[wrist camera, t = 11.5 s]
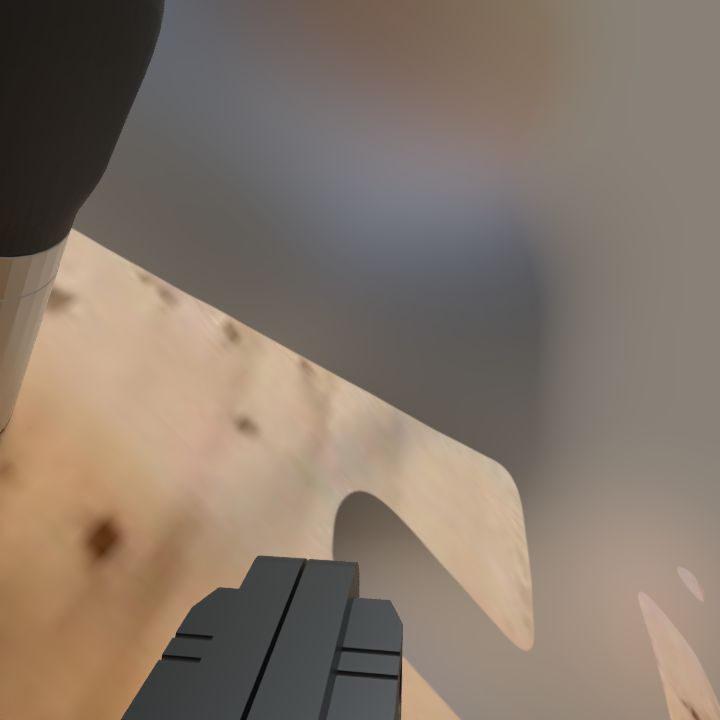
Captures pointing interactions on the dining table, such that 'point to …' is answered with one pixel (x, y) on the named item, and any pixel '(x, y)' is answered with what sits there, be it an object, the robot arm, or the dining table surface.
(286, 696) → the robot arm
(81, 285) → the dining table surface
